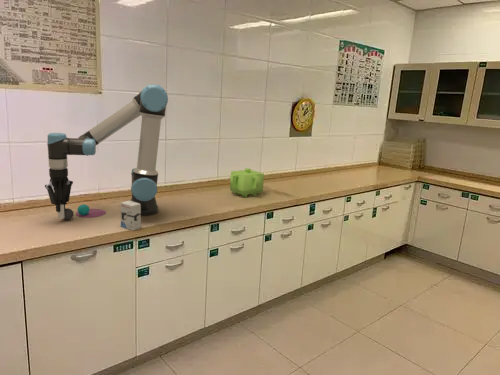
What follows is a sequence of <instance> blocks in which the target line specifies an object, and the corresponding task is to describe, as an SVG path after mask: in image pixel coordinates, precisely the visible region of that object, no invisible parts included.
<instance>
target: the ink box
mask: <svg viewBox="0 0 500 375" xmlns="http://www.w3.org/2000/svg"><path fill="white" fill-rule="evenodd" d="M141 216H142V215H141V204H139V203H136V202H133V201H131V200H127V201H125V200H124V201H122V202H120V227H121V228H124V229H126V230H127V229H128V230H130V231H135V230H139V229H141V228H142V227H141V226H142V219H141V218H142V217H141Z"/></svg>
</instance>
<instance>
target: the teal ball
mask: <svg viewBox="0 0 500 375" xmlns="http://www.w3.org/2000/svg"><path fill="white" fill-rule="evenodd" d="M90 209H91V208H90V206H88V204H86V203H85V204H80V205H79V206H78V207H77V210H76V212H78V213H79V214H80V215H83V216H84V215H87V214H88V213H89V211H90Z"/></svg>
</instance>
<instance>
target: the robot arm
mask: <svg viewBox="0 0 500 375" xmlns="http://www.w3.org/2000/svg"><path fill="white" fill-rule="evenodd" d="M168 101H169V97H168V93H167V91H166V90H165V88H164V87H162V86H161V85H159V84H153V83H152V84H148V85H146V86H145V87H143V88H142V90H141V91H140V92H139V93H138V94H136V95H135V96H133V98H132V101H130V102H129V103H127V104H126V105H124V106H122V107H121V108H120V109H119V110H117V111H116V112H114V113H113V114H111V115H110V116H108V117H107V118H105V119H104V120H102V121H101V122H99V123H98V124H96V125H95V126H93V127H92V128H90V129H89V130H87V131H86V132H85V133H83V134H82V135H80V136H78V137H76V138H74V137H67V134H66V133H63V132H50V133H48V135H47V143H46V145H47V156H48V157H47V158H48V167H49V169H48V175H49V178H50V179H49V182H48V184H44V188H45V189H46V190H47V193H48V194H47V195H48V197H49V200H50V203H51V204H52V205H55V212H56V213H57V219H60V220H64V219H63V218H65V217H64V211H65V209H66V205H67V204H68V203H69V201H70V197H71V189H72V186H73V183H74V180H69V177H68V176H69V168H68V166H69V164H68V163H69V162H68V156H95V155H96V152H97V146H98V145H99V144H100V143H102V142H104V141H105V140H106V139H108V138H110V137H111V136H112V135H113V134H115V133H116V132H118V131H120V130H121V129H122V128H125V127H126V126H127V125H128V124H130V123H131V122H133V121H134V120H135V119H137V118H139V117H140V116H141V117H142V118H141V124H140V136H139V143H138V144H139V145H138V155H137V163H136V164H137V165H136V167H133V168H132V169H131V173H130V174H131V185H130V186H131V187H130V191H131V199H130V201H133V202H136V203H139V204H141V216H150V215H155V214H157V213H158V212H159V206H158V203H157V198H156V195H157V193H158V178H159V172H158V171H157V170H156V168H157V161H158V160H157V159H158V150H159V143H160V142H159V141H160V134H161V133H160V132H161V125H162V120H163V119H164V118H165V117H166V111H167V110H166V109H167V104H168ZM51 204H50V205H51Z"/></svg>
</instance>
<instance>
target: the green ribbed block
mask: <svg viewBox="0 0 500 375" xmlns="http://www.w3.org/2000/svg"><path fill="white" fill-rule="evenodd" d="M264 178H265V174H264V173H263V172H261V171H260V172H259V171H256V170H253V169H251V168H244V170H231V172H230V175H229V179H230V182H229V186H230V187H229V188H230V189H229V191H231V192H234V194H235V195H241V196H242V198H248V196H249V195H252V196H253V197H258V196H259V195H258V194H262V193H263V192H264V181H265V179H264Z"/></svg>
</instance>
